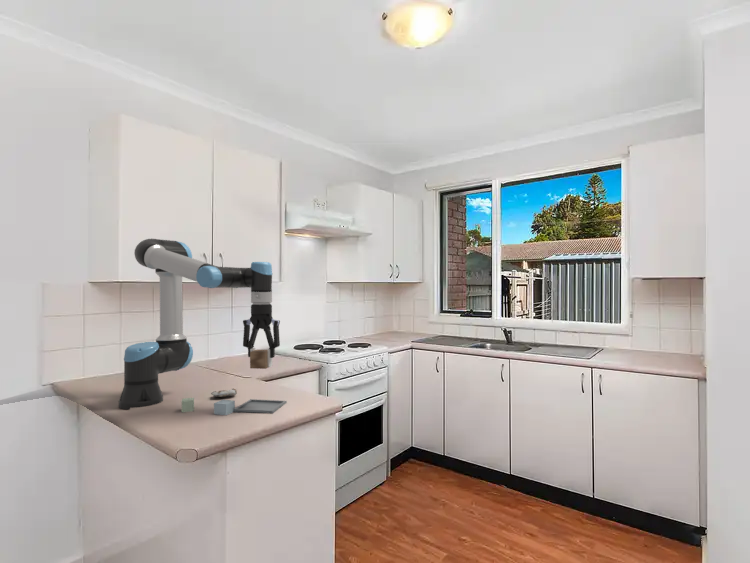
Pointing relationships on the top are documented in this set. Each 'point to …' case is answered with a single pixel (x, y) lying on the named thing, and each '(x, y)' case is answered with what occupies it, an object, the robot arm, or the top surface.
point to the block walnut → (259, 359)
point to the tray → (260, 406)
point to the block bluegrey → (224, 407)
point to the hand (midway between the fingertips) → (261, 366)
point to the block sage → (187, 404)
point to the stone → (224, 393)
